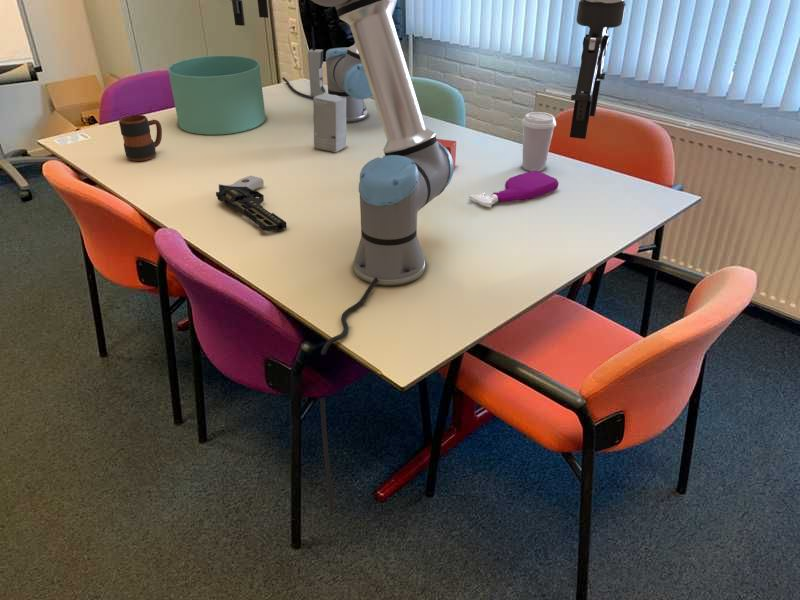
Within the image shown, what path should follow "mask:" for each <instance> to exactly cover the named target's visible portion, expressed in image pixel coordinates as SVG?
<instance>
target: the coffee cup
mask: <svg viewBox="0 0 800 600" xmlns="http://www.w3.org/2000/svg"><path fill="white" fill-rule="evenodd" d="M521 125H522V161H521V162H522V163H521V164H522V165H521V166H522V169H524V170H525V171H527V172H531V171H539V172H542V171H544V170H545V169H546V166H547V161H548V156H549V152H550V147H551V143H552V139H553V134H554V129H555V127H556V126H557V121H556V119H555V116H554V115H553V114H552V113H548V112H544V111H532V112H528V113H526V114H525V115H524V117H523V118H522V120H521Z"/></svg>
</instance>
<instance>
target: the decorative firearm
mask: <svg viewBox="0 0 800 600" xmlns="http://www.w3.org/2000/svg"><path fill="white" fill-rule="evenodd" d="M264 185H265V184H264V179H263V178H262V177H259V176H255V175H249V176H245V177H243V178H240V179H238V180H236V181H235V182H233V183H232V184H221V183H219V184H218V191H215V197H217V200H218V201H219V202H221V203H224V204H226V205H227V206H228V207H230V208H232V209H233V210H236V211H238V212H239V213H240V214H242V215H243V216H245V217H246V218H248V219H249V220H250V221H251V222H253V223H254V224H256V225H257V226H258V228H259V229H260V230H262V231H265V232H272V231H273V232H274V231H277V232H281V231H284V230H285V229H287V221H286V220H284V219H282V218H281V217H280V216H278V215H277V214H275V213H274V212H270V211H268V210H267V209H265V208H264V206H263V205H261V204H262V203H263V202H265V201H264V200H265V196H264V194H263V193H261V192H260V191H258V190H256V189H260V188H263V187H264Z"/></svg>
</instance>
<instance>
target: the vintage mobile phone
mask: <svg viewBox="0 0 800 600" xmlns="http://www.w3.org/2000/svg"><path fill="white" fill-rule="evenodd" d="M311 39H312V40H311V41H312V42H311V43H312V48H310V49H309V50H307V62H308V75H309V89H310V96H312V97H315V96H318V95H321V94H324V93H326V94H327V91H326V89H325V86H324V78H323V77H324V76H323V64H324V49H316V44H315V43H316V42H315V31H314V26H311Z"/></svg>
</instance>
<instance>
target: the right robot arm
mask: <svg viewBox="0 0 800 600" xmlns="http://www.w3.org/2000/svg"><path fill="white" fill-rule="evenodd" d="M311 1H312V2H313V3H314V4H317V5H318V6H321V7H326V8H327V7H328V8H329V7H331V8H333V7H335V10H336V14H337V16H338V18H339V20H341V21H343V22H344V23H346V24H347V25H349V28H350V31H351V34H352V37H353V40H354V44H355V43H356V46H357V49H358V53H359V56H360V59H361V62H362V65H363V68H364V71H365V74H366V77H367V80H368V83H369V86H370V89H371V92H372V95H373V96H372V99H373V100H374V105H375V107H376V110H377V113H378V116H379V119H380V122H381V126H382V128H383V131H384V134H385V137H386V143H385V145H384V148H383V150H382V151H383V153H384V155H383V156H382V157H379V156H378V157H376V158H373V159H371V160H369V161H367V162H366V163H365V164H364V166H363V167H362V168H361V169H360V172H359V182H358V193H359V206H360V207H359V209H360V211H359V212H360V239H359V242H358V247H357V249H356V252H355V256H354V259H353V270H354V273H355V275H356V276H357V277H358V278H359V279H360V280H362V281H364V282H366V283H369V285H368V287H367V289H366V290H365V292H364V294H363V295H362V296H361V298H360V299H359V300H358V301H357V302H356V303H354V304H353V305H351V306H350V307H348V308H347V309H346V310H344V311H343V312H342V314H341V318H340V321H341V324H342V328H343V330H342V332H340V333H339V334H336V335H335V336H332V337H331V338H329V339H328V340H327V341H326V342H325V343H324V345H323V346H322V349H321V351H320V355H321V356H324V355H326V354H327V353H328V352H327V351H328V350H329V348H330V346H331V345H332V344H334V343H336V342H338V341H340V340H342V339H343V338H345V337H346V336H347V335H348V333H349V324H348V321H347V317H348V315H350V314H351V313H352V312H354V311H355V310H357V309H358V308H360V307H361V306H362V305H363V304H364V303H365V302H366V300H367V299H368V297H369V295H370V294H371V292H372V290H373V289H374V287H375V286H382V287H395V286H402V285H406V284H410V283H413V282H415V281H417V280H418V279H420V278H421V276H423V274H424V273H425V270H426V261H425V255H424V252H423V250H422V247H421V244H420V241H419V238H418V212H419V211H421V210H422V209H423V208H424V207H425V206H426V205H427V204H429V203H430V202H432V200H434V199H435V198H437V197H438V196H440V195H441V194H442V193H443V192H444V191H445V189H446V188H447V187H448V186H449V184H450V183H451V181H452V179H453V175H454V168H453V160H452V157H451V155H450V153H449V151H448V150H447V148H446V147H444V146H442V145H441V143H439V142H437V139H438V138H437V136H436V133H435V131H432V130H431V129H429V128H428V127H427V126H426V124H425V121H424V117H423V114H422V111H421V108H420V104H419V100H418V98H417V96H416V95H417V94H416V91H415V89H414V84H413V81H412V79H411V74H410V72H409V68H408V65H407V62H406V58H405V56H404V52H403V48H402V45H401V42H400V39H399V38H400V37H399V35H398V32H397V29H396V26H395V22H394V19H393V14H392V15H391V12H390V9H391V6H392V3H393V1H394V0H311ZM626 5H627V4H626V2H625V0H579V1H578V6H577V13H576V23H577V25H580V26H582V27H588V28H589V31H588V34H587V33H586V34H585V36H584V37H583V41H582V52H581V57H580V68H579V74H578V78H577V82H576V88H575V93H574V94H571V96H570V101H574V106H573V112H572V119H571V125H570V132H569V138H571V139H572V138H573V139H581V140H586V139H587V133H588V127H589V120H590V117H596V111H597V106H598V100H599V94H600V88H601V80H603V81H605V80H606V79H605V78H606V73H603V72H604V63H605V56H606V54H607V50H608V46H609V43H610V42H609V41H610V35H608V32H609V30H610V29H612V28H613V29H614V28H617V27H620V26H621V25H622V24H623V23H624V16H625V12H626V11H625V10H626ZM319 399H320V400H319V401H320V423H321V436H322V447H323V448H322V449H323V456H324V465H325V475H326V484H327V485H326V486H327V495H328V507H329V512H330V513H334V511H335V508H334V507H335V506H334V494H333V483H332V474H331V464H330V454H329V453H330V452H329V444H328V443H329V442H328V431H327V417H326V415H327V413H326V398H323V397H320V398H319Z"/></svg>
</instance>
